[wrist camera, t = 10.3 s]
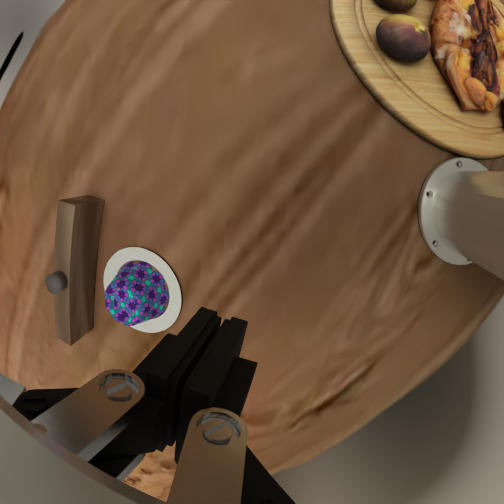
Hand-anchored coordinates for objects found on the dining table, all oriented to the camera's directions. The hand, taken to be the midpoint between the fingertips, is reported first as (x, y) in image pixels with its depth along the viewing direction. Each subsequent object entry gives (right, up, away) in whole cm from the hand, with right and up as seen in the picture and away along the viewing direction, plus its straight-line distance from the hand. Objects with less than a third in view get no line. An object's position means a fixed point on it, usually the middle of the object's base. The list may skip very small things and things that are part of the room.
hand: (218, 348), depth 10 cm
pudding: (-13, -2, +28) cm, 31 cm away
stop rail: (-22, +1, +28) cm, 36 cm away
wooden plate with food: (+26, +30, +13) cm, 42 cm away
